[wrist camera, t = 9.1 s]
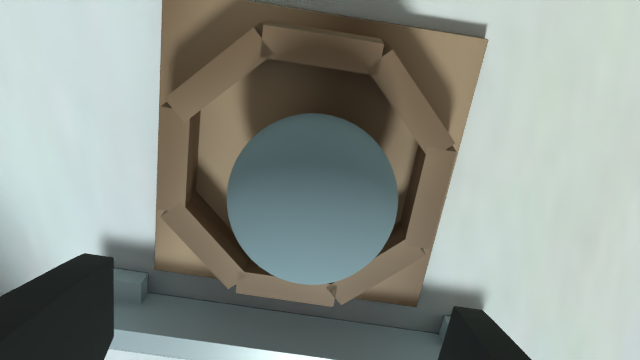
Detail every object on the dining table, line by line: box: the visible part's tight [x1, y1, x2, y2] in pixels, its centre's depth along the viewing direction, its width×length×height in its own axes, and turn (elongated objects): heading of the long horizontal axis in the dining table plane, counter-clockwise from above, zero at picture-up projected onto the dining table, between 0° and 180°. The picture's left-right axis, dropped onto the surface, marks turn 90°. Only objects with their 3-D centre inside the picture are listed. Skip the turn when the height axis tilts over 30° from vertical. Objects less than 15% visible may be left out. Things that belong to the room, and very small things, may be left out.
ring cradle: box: [154, 0, 488, 307], centre depth 18 cm, size 11×11×2 cm
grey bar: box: [109, 268, 451, 360], centre depth 21 cm, size 16×3×2 cm, turn 81°
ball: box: [227, 113, 398, 285], centre depth 16 cm, size 6×6×6 cm
